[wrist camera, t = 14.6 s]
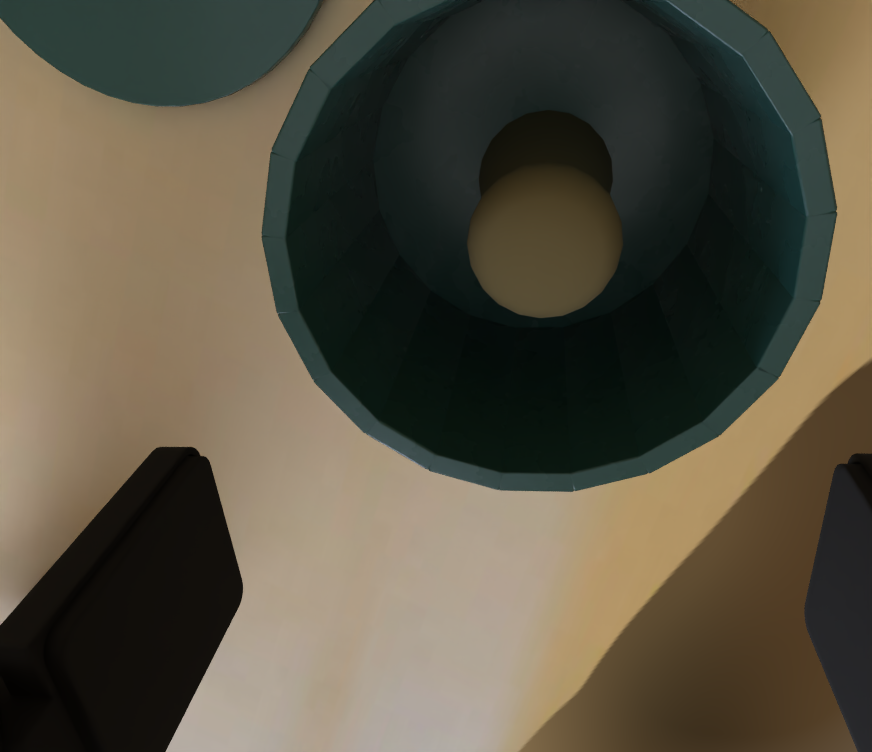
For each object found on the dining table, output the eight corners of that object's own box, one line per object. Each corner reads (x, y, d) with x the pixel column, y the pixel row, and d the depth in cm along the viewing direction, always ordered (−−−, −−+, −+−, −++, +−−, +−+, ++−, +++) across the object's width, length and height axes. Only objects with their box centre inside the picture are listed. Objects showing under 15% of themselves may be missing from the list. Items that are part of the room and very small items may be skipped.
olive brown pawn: (533, 80, 30) (527, 119, 21) (642, 165, 31) (684, 240, 22) (452, 194, 33) (413, 275, 23) (554, 269, 34) (557, 376, 24)
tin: (382, 339, 38) (311, 487, 26) (337, -15, 30) (208, -22, 19) (709, 334, 35) (786, 496, 24) (750, -57, 27) (895, -95, 16)
